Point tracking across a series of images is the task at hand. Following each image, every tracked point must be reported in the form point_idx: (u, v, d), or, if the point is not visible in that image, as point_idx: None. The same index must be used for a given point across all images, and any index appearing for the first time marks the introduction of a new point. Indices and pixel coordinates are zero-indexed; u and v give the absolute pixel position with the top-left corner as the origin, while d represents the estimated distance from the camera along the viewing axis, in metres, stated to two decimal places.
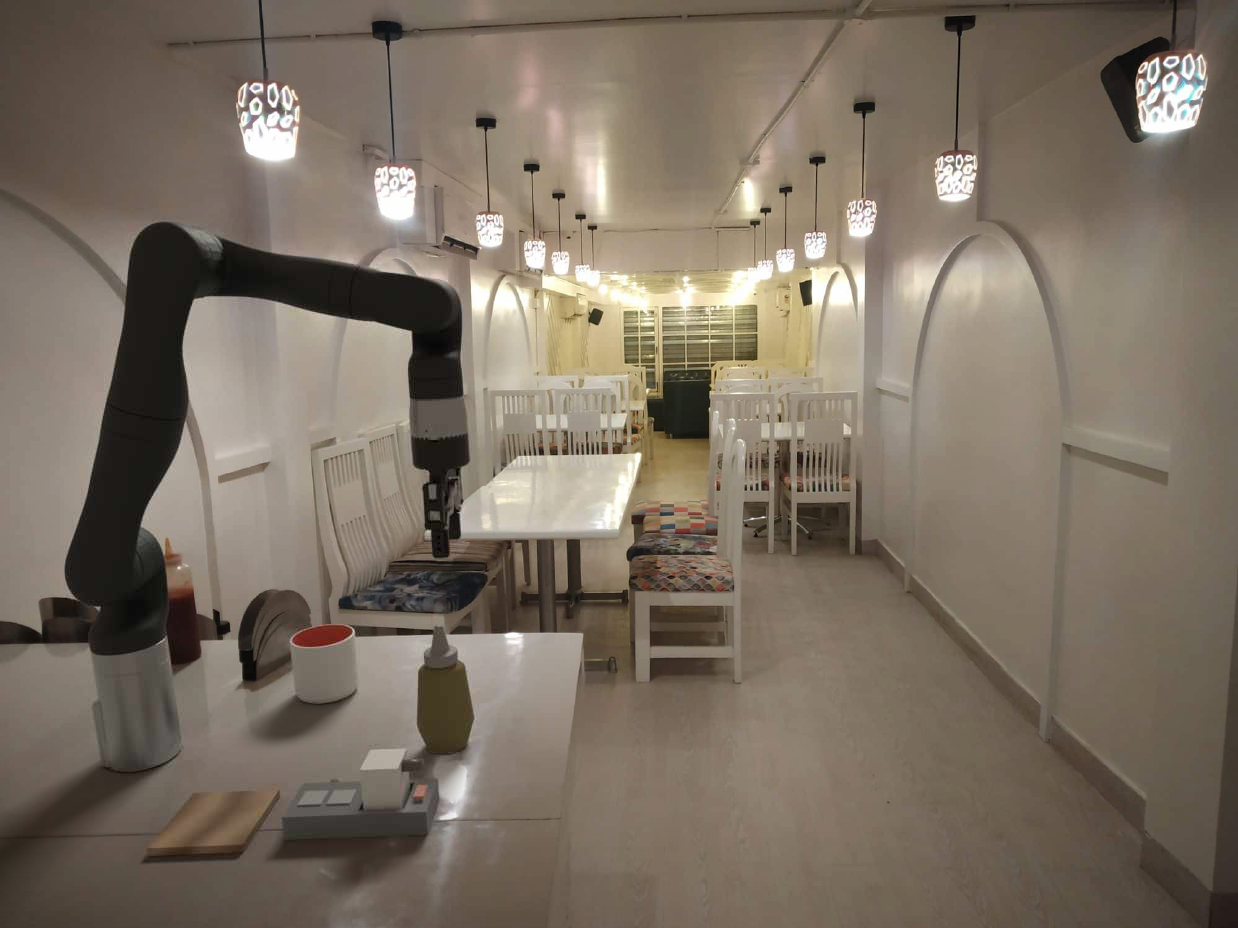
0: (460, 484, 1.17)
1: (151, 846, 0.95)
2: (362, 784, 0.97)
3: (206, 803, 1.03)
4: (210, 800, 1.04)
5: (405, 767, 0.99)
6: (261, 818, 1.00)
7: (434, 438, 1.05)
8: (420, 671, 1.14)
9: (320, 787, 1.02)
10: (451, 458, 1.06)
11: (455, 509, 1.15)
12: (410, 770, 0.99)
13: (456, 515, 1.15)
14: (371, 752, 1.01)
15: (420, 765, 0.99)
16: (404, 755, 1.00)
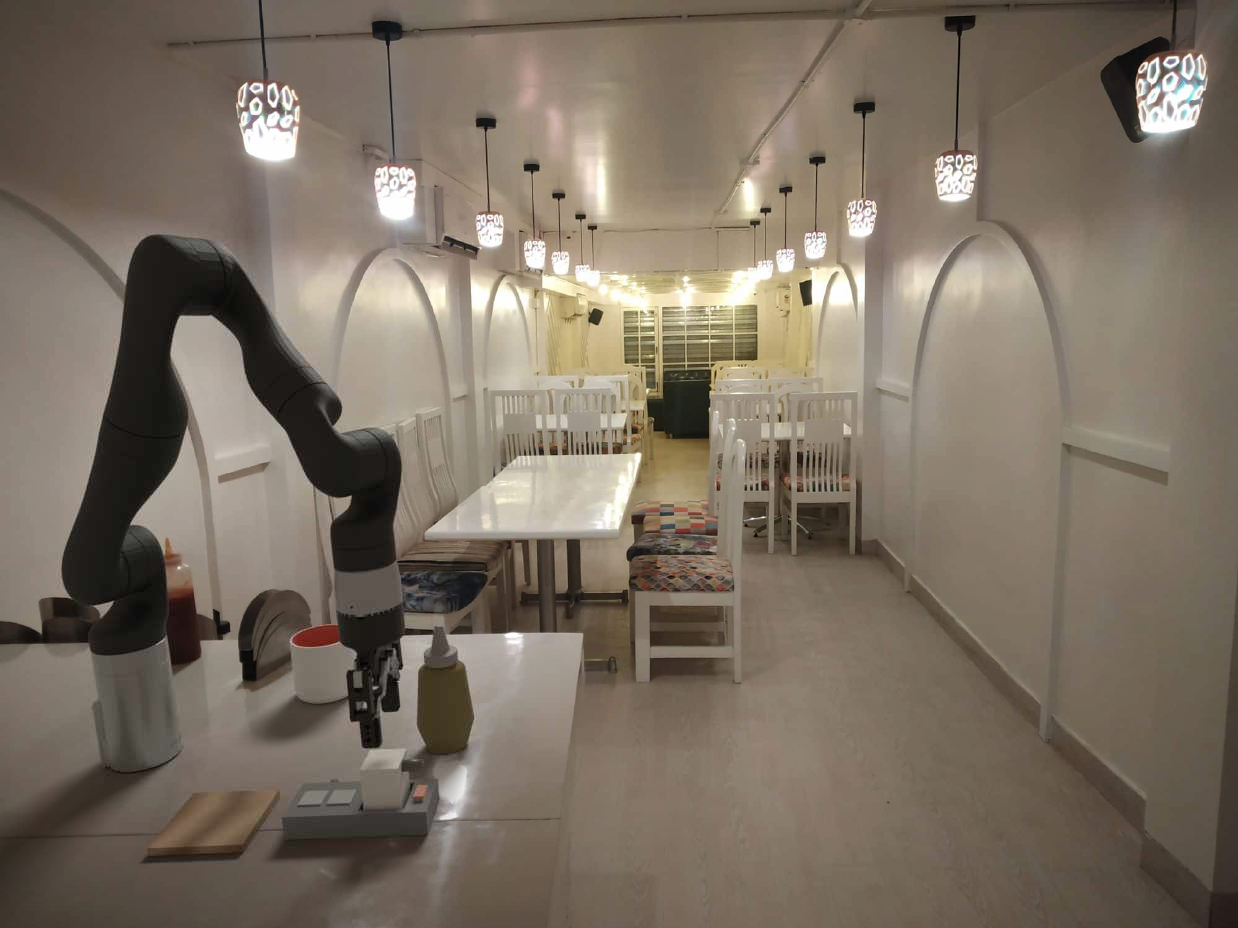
0: (399, 648, 1.03)
1: (151, 846, 0.95)
2: (362, 784, 0.97)
3: (206, 803, 1.03)
4: (210, 800, 1.04)
5: (405, 767, 0.99)
6: (261, 818, 1.00)
7: (360, 615, 0.92)
8: (420, 671, 1.14)
9: (320, 787, 1.02)
10: (381, 635, 0.93)
11: (392, 678, 1.02)
12: (410, 770, 0.99)
13: (394, 685, 1.02)
14: (371, 752, 1.01)
15: (420, 765, 0.99)
16: (404, 755, 1.00)
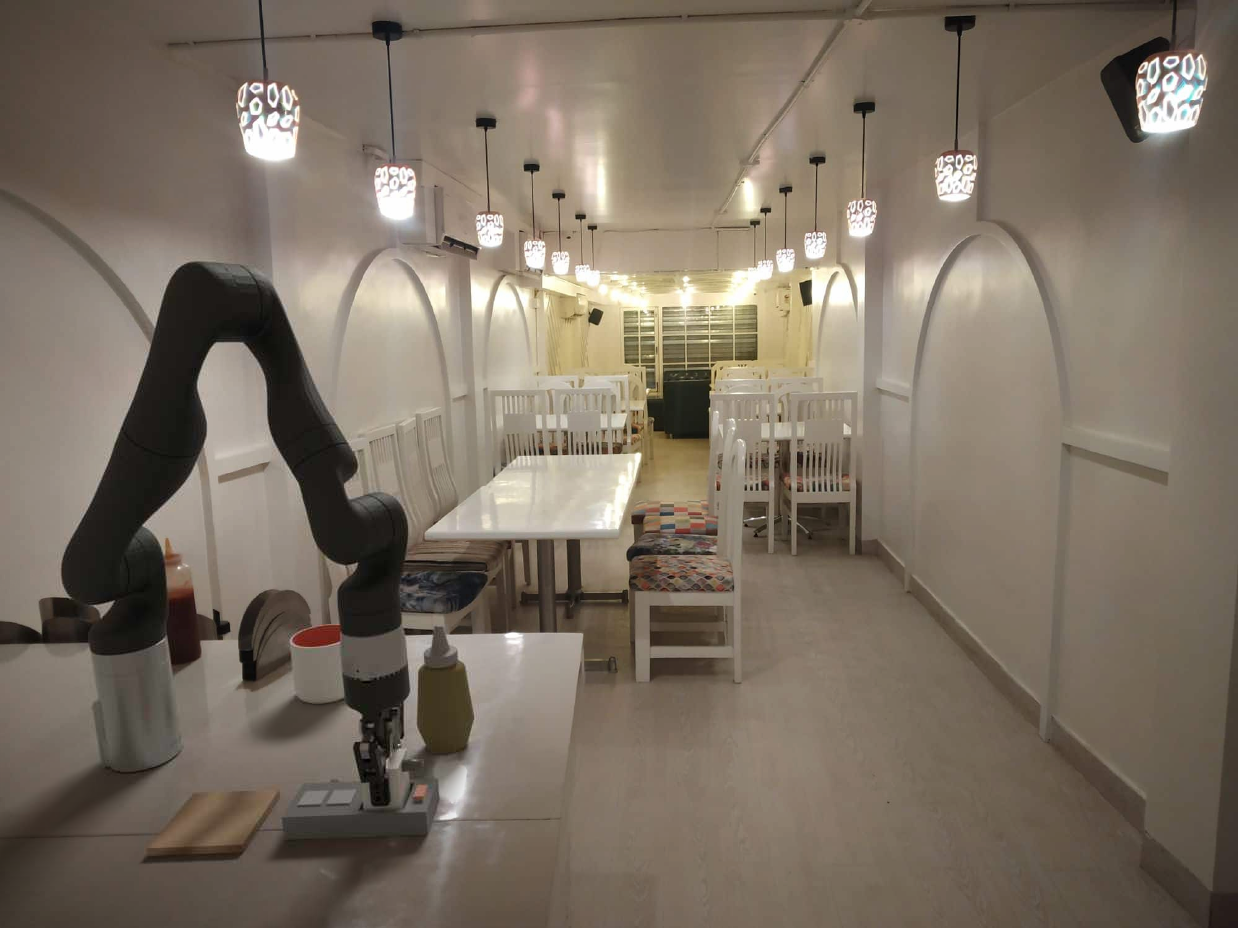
0: (402, 714, 1.04)
1: (151, 846, 0.95)
2: (362, 784, 0.97)
3: (206, 803, 1.03)
4: (210, 800, 1.04)
5: (405, 767, 0.99)
6: (261, 818, 1.00)
7: (366, 678, 0.93)
8: (420, 671, 1.14)
9: (320, 787, 1.02)
10: (386, 698, 0.94)
11: None
12: (410, 770, 0.99)
13: None
14: None
15: (420, 765, 0.99)
16: (404, 755, 1.00)
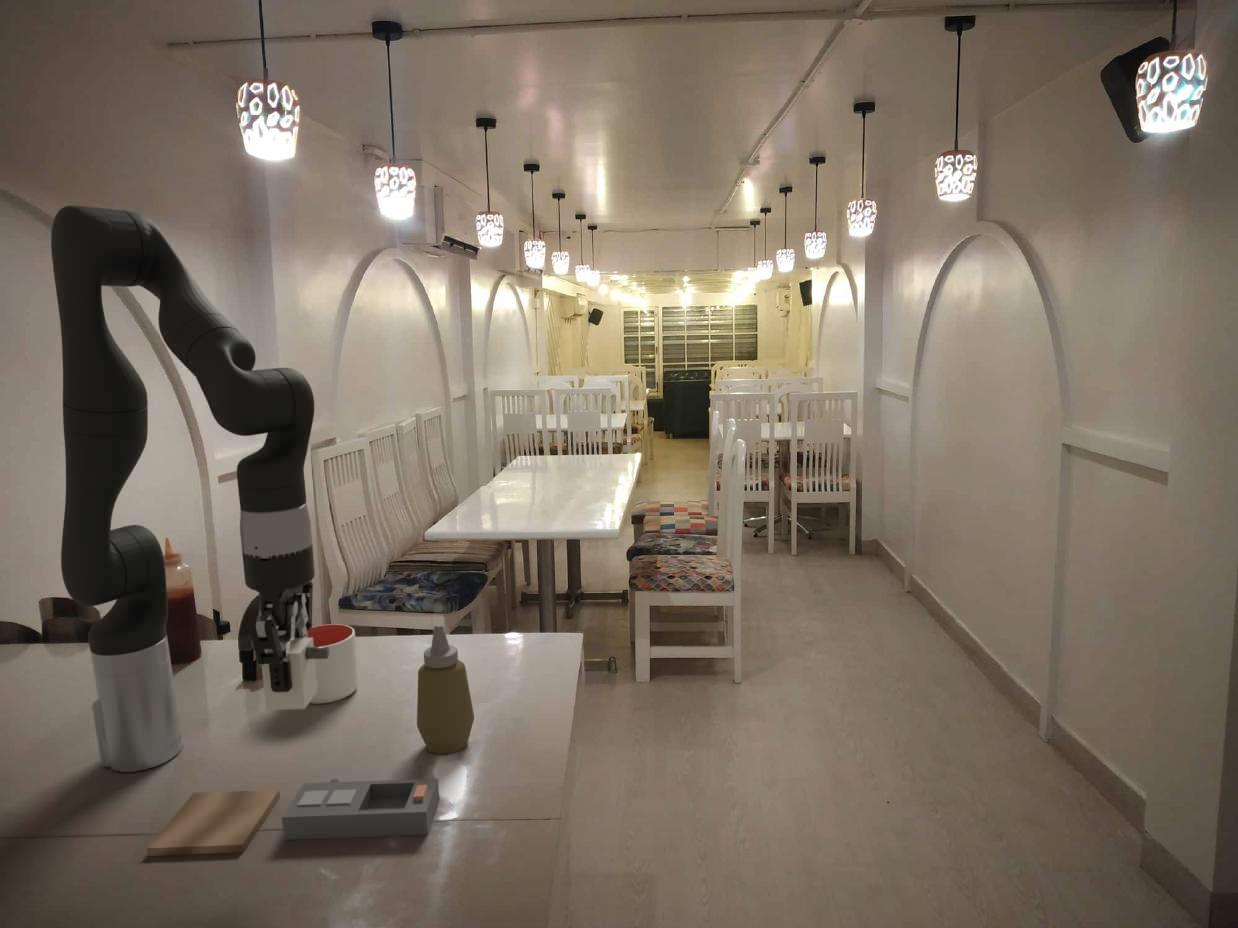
0: (310, 604, 1.01)
1: (151, 846, 0.95)
2: (263, 669, 0.95)
3: (206, 803, 1.03)
4: (210, 800, 1.04)
5: (309, 654, 0.96)
6: (261, 818, 1.00)
7: (265, 556, 0.90)
8: (420, 671, 1.14)
9: (320, 787, 1.02)
10: (287, 578, 0.92)
11: None
12: (314, 657, 0.96)
13: None
14: None
15: (324, 652, 0.96)
16: (309, 643, 0.98)
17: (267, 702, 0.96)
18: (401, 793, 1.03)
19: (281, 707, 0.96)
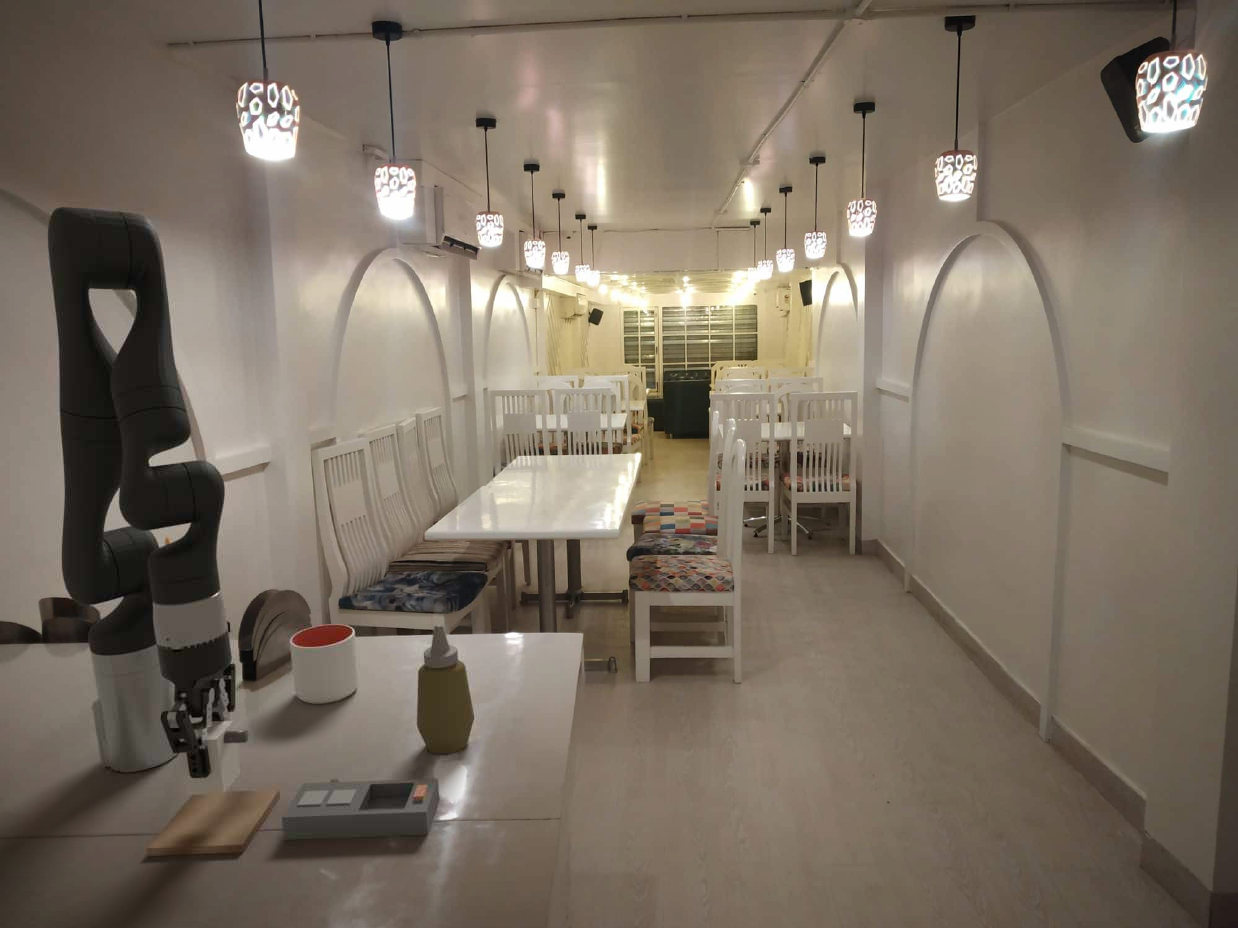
0: (232, 686, 1.03)
1: (151, 846, 0.95)
2: (181, 755, 0.96)
3: (206, 803, 1.03)
4: (210, 800, 1.04)
5: (227, 738, 0.98)
6: (261, 818, 1.00)
7: (177, 647, 0.92)
8: (420, 671, 1.14)
9: (320, 787, 1.02)
10: (199, 667, 0.93)
11: None
12: (233, 741, 0.98)
13: None
14: None
15: (243, 736, 0.98)
16: (229, 727, 0.99)
17: (187, 787, 0.97)
18: (401, 793, 1.03)
19: (201, 792, 0.97)
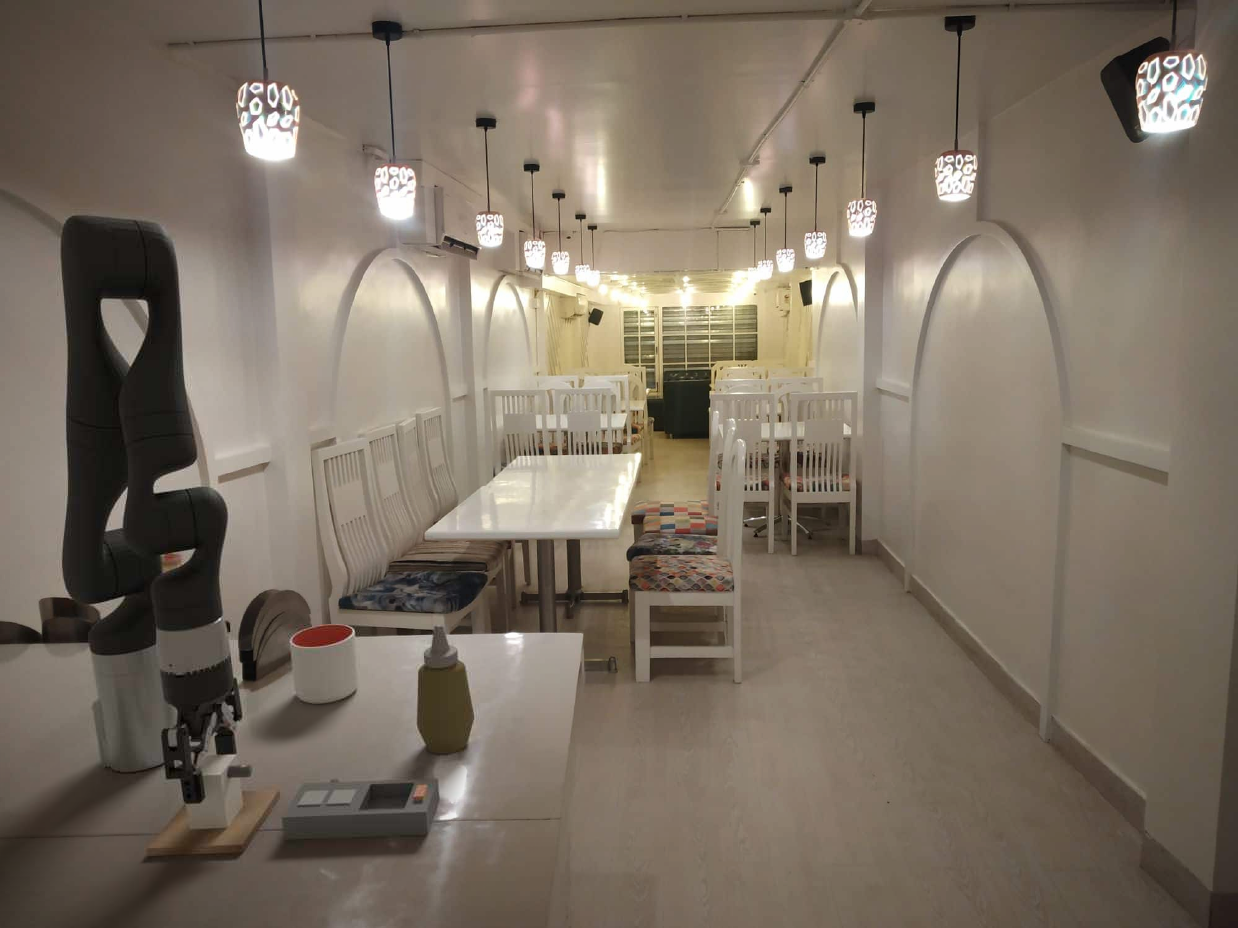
0: (236, 699, 1.04)
1: (151, 846, 0.95)
2: None
3: None
4: None
5: (231, 773, 0.98)
6: (261, 818, 1.00)
7: (179, 673, 0.93)
8: (420, 671, 1.14)
9: (320, 787, 1.02)
10: (202, 693, 0.94)
11: (228, 730, 1.02)
12: (236, 776, 0.99)
13: (229, 737, 1.02)
14: None
15: (246, 771, 0.99)
16: (232, 761, 1.00)
17: (190, 822, 0.98)
18: (401, 793, 1.03)
19: (204, 826, 0.98)
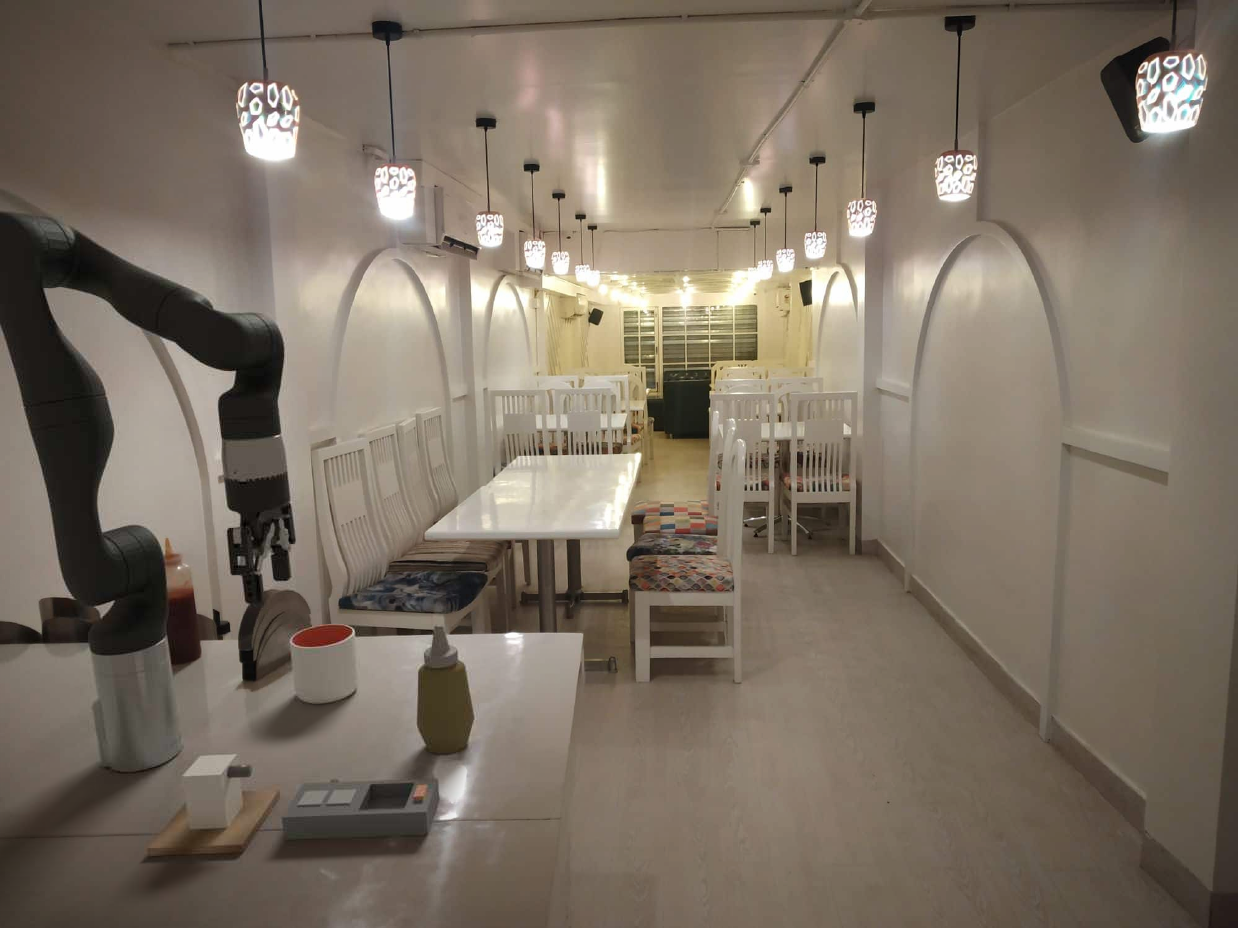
0: (291, 523, 1.12)
1: (151, 846, 0.95)
2: (185, 790, 0.97)
3: None
4: None
5: (231, 773, 0.98)
6: (261, 818, 1.00)
7: (243, 480, 1.01)
8: (420, 671, 1.14)
9: (320, 787, 1.02)
10: (263, 500, 1.02)
11: (283, 549, 1.11)
12: (236, 776, 0.99)
13: (284, 556, 1.11)
14: (200, 758, 1.00)
15: (246, 771, 0.99)
16: (232, 761, 1.00)
17: (190, 822, 0.98)
18: (401, 793, 1.03)
19: (204, 826, 0.98)
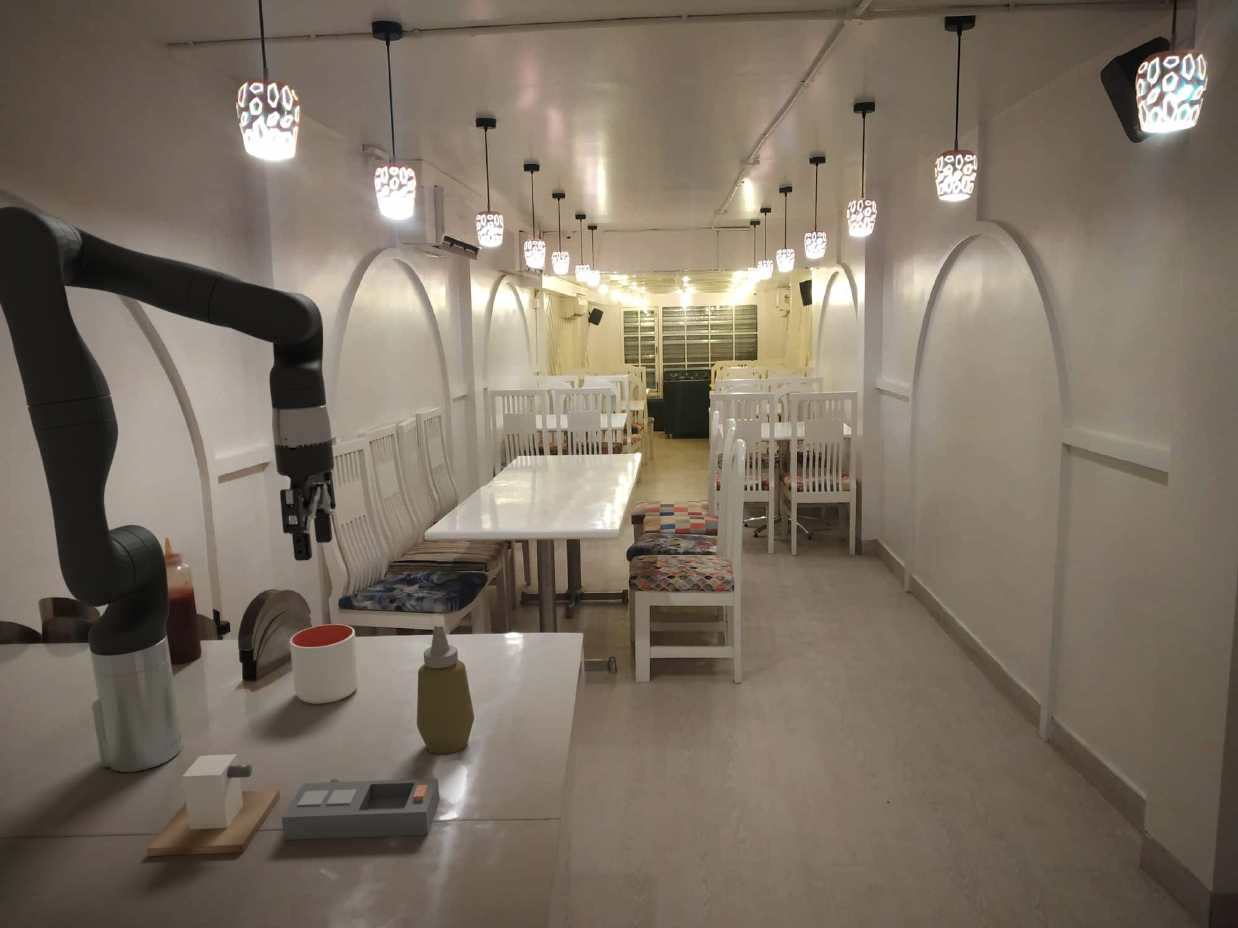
0: (331, 489, 1.21)
1: (151, 846, 0.95)
2: (185, 790, 0.97)
3: None
4: None
5: (231, 773, 0.98)
6: (261, 818, 1.00)
7: (293, 446, 1.10)
8: (420, 671, 1.14)
9: (320, 787, 1.02)
10: (311, 465, 1.11)
11: (325, 513, 1.20)
12: (236, 776, 0.99)
13: (326, 519, 1.20)
14: (200, 758, 1.00)
15: (246, 771, 0.99)
16: (232, 761, 1.00)
17: (190, 822, 0.98)
18: (401, 793, 1.03)
19: (204, 826, 0.98)
